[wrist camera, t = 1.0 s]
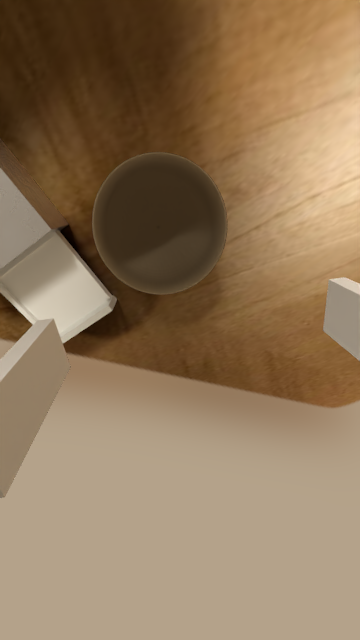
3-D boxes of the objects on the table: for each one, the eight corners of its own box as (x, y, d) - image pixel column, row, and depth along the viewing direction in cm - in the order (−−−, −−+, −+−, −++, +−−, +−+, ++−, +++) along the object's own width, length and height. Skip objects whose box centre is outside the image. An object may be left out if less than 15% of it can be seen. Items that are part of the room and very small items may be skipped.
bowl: (231, 208, 34) (257, 212, 25) (173, 289, 38) (177, 318, 29) (145, 138, 31) (138, 112, 21) (90, 235, 34) (65, 249, 25)
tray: (-27, 253, 34) (-49, 259, 30) (37, 202, 32) (22, 202, 28) (58, 339, 39) (48, 353, 36) (117, 299, 38) (112, 310, 34)
